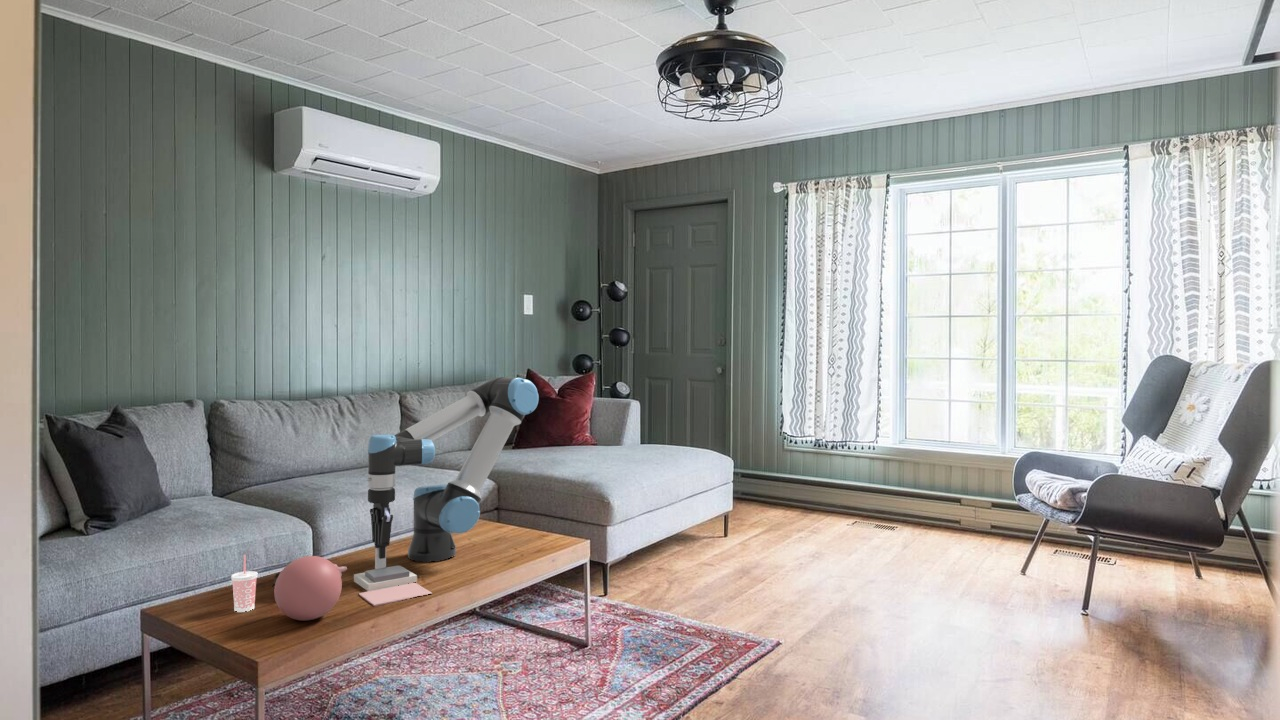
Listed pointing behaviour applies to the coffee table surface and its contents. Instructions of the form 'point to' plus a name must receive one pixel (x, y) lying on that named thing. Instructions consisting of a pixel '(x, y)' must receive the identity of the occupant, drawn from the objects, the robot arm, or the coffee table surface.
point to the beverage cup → (244, 589)
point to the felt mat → (394, 594)
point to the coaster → (386, 573)
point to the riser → (371, 586)
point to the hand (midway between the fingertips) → (380, 568)
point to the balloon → (308, 587)
